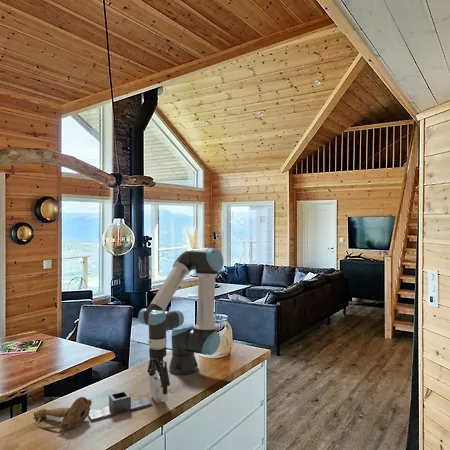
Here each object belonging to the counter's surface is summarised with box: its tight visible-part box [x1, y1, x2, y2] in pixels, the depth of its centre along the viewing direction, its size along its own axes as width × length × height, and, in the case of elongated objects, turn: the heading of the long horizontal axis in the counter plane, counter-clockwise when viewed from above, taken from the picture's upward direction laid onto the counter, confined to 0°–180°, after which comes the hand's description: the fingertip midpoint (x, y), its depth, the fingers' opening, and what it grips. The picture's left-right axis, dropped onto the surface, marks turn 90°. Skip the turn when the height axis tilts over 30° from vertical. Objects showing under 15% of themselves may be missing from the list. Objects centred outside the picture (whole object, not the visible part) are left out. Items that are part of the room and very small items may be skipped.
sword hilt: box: [33, 396, 93, 431], centre depth 162 cm, size 10×24×15 cm
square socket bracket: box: [87, 390, 153, 423], centre depth 170 cm, size 25×8×6 cm, turn 121°
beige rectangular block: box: [152, 375, 162, 404], centre depth 178 cm, size 4×4×10 cm
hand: (158, 395), depth 178 cm, fingers open, 13 cm apart
